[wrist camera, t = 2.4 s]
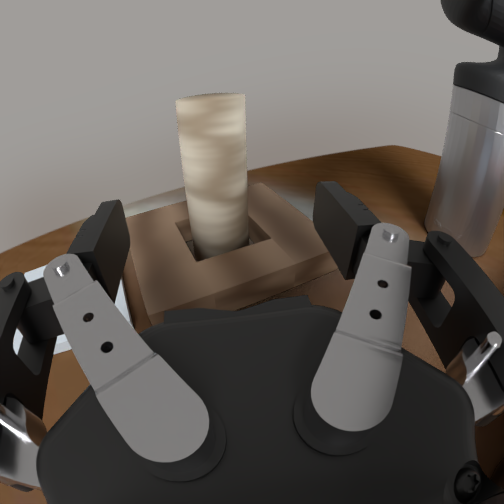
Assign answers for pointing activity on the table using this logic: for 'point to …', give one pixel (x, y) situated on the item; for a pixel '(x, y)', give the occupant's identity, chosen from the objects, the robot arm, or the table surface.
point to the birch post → (215, 171)
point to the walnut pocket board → (225, 257)
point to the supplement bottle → (499, 475)
